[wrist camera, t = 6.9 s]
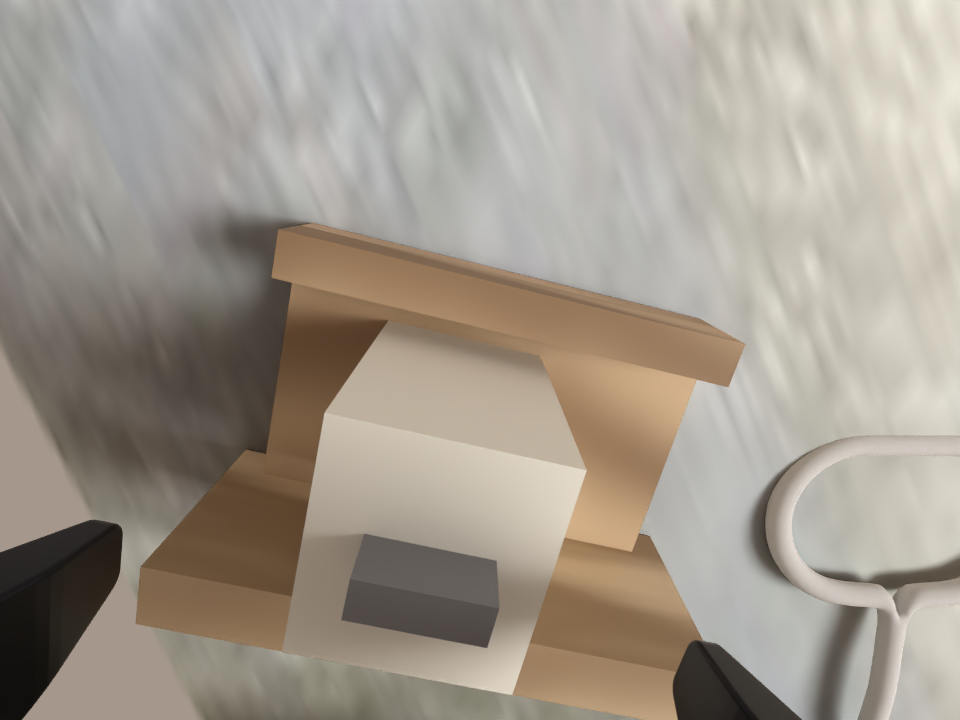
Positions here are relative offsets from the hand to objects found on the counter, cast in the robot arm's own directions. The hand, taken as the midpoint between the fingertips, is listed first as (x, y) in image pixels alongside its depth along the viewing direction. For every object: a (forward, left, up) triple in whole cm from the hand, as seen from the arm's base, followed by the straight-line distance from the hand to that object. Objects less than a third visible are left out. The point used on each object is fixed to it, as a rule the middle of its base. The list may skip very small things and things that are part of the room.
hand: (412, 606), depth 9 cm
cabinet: (0, 0, -8) cm, 8 cm away
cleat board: (0, -1, -10) cm, 10 cm away
